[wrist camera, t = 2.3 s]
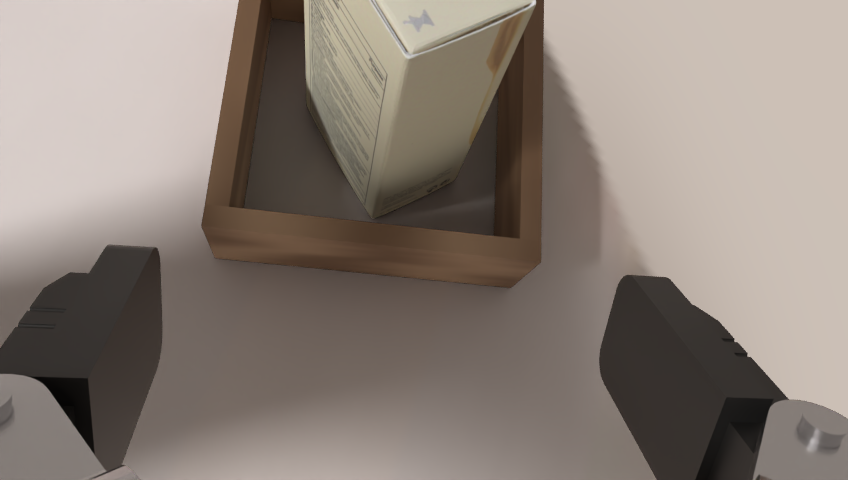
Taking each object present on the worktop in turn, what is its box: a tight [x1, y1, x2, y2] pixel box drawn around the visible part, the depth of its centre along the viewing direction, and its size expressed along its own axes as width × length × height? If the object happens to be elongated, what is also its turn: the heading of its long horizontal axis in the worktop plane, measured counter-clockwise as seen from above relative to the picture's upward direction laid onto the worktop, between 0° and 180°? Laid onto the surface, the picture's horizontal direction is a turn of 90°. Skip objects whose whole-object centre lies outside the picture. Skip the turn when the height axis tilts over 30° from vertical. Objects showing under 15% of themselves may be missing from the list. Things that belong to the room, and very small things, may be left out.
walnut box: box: [201, 0, 544, 288], centre depth 29 cm, size 12×12×4 cm
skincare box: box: [304, 0, 536, 218], centre depth 25 cm, size 6×4×12 cm
